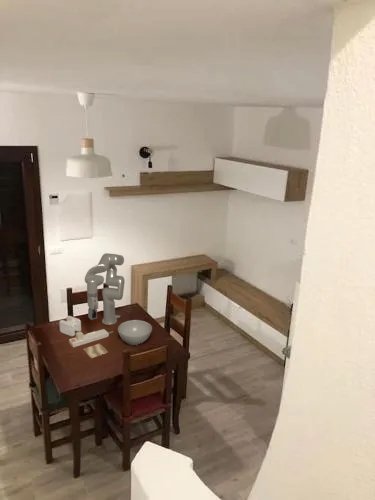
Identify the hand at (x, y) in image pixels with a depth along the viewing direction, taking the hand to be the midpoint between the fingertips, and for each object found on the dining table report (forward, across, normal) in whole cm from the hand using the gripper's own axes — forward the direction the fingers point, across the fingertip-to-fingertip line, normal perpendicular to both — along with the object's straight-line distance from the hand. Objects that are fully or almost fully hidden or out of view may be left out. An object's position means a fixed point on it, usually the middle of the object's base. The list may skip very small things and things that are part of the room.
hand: (92, 315), depth 312 cm
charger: (+2, 0, 0) cm, 2 cm away
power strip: (+24, +8, -3) cm, 25 cm away
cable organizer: (+24, +26, +8) cm, 36 cm away
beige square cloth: (+25, -10, +3) cm, 27 cm away
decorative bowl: (+24, -14, -30) cm, 41 cm away
